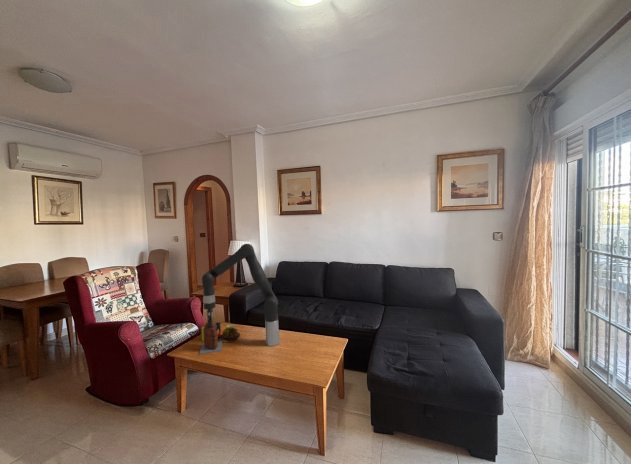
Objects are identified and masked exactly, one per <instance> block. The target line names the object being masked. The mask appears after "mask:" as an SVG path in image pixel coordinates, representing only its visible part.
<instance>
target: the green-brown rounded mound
mask: <svg viewBox="0 0 631 464" xmlns="http://www.w3.org/2000/svg"><path fill="white" fill-rule="evenodd" d="M240 337H241V332H238V329H237V328H236V327H235V326H234V327H233V325H232V324H228V325H226V326H225V328H224V330H223V331H221V335H220V336H219V337H218V339H217V340H218V342H221V341H222V343H230V342H235V341H237V340H238V339H239V338H240Z"/></svg>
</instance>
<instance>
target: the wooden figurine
mask: <svg viewBox="0 0 631 464" xmlns="http://www.w3.org/2000/svg"><path fill="white" fill-rule="evenodd" d="M216 323H217V322H215V321H213V320H212V327H208V321H207V322H206V323H205V324H204V326H203V327H204V341H203V344H204V346H205V347H206V348H210V349H213V350H214V349H216V348H217V347H218V342H219V340H218V339H217V331H216V328H217V327H216Z"/></svg>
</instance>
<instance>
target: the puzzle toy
mask: <svg viewBox="0 0 631 464" xmlns="http://www.w3.org/2000/svg"><path fill="white" fill-rule="evenodd" d="M215 323H216V327H217V328H216V331H217V340H218V337H219V336H221V335H222V331H221V322H215ZM201 339H202V340H201V341H203V342H204V326H202V327H201Z"/></svg>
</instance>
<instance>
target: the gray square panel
mask: <svg viewBox="0 0 631 464" xmlns="http://www.w3.org/2000/svg"><path fill="white" fill-rule="evenodd" d="M218 352H219V353H220V352H223V342H222V341H218V347H217V348H216V349H214V350H213V349H210V348H206V347H205V346H204V343H203V344H201V345H200V350H199V355H200V356H201V355H206V354H211V353H212V354H213V353H218Z"/></svg>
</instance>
